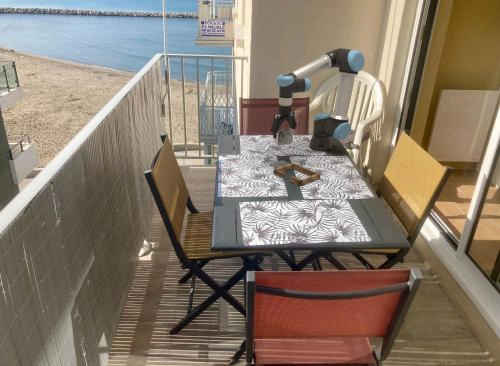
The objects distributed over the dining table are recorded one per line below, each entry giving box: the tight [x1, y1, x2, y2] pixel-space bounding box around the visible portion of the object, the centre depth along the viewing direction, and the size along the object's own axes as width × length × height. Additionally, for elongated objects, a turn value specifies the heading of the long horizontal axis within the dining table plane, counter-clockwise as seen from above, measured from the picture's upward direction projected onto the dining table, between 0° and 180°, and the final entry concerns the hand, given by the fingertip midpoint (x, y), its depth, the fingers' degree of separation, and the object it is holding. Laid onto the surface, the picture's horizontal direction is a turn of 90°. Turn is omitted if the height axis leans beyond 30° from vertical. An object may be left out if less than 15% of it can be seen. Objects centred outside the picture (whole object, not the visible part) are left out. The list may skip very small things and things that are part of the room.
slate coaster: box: [268, 160, 291, 169], centre depth 248 cm, size 11×11×1 cm
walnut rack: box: [272, 162, 322, 187], centre depth 233 cm, size 16×21×3 cm
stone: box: [276, 127, 294, 146], centre depth 241 cm, size 10×10×10 cm
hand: (283, 141), depth 242 cm, fingers closed on stone, 11 cm apart
